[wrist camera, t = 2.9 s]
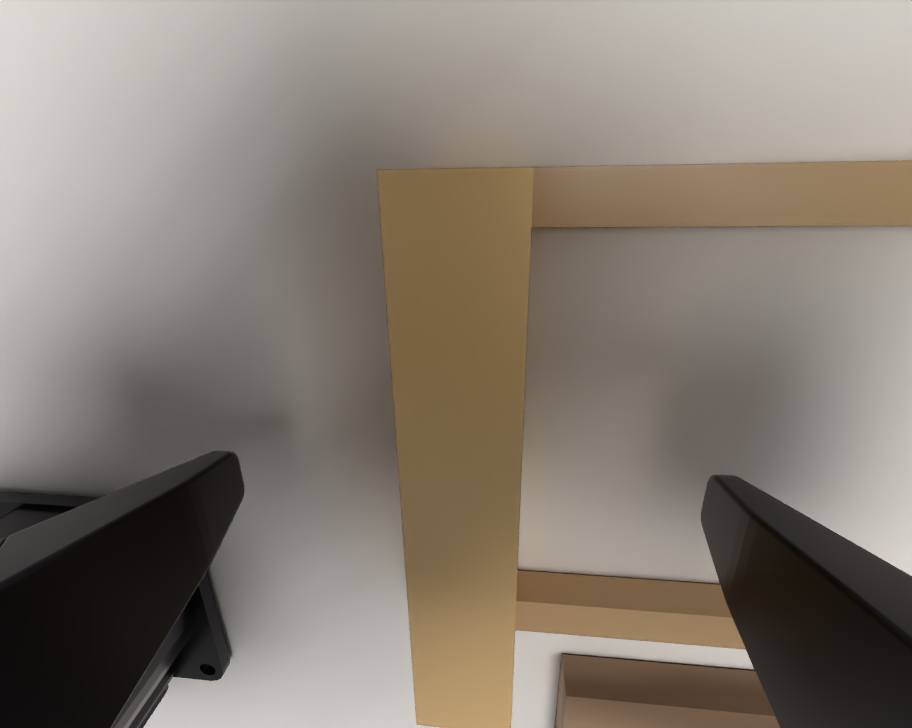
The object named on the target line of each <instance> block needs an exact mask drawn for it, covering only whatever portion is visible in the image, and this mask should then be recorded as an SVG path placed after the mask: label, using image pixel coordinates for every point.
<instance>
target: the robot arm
mask: <svg viewBox="0 0 912 728" xmlns="http://www.w3.org/2000/svg"><path fill="white" fill-rule="evenodd" d="M243 496H244V482H243V478H242V473H241V468H240V463H239V459H238V456H237V455H236V454H235V453H234V452H229V451H213V452H210V453H208V454H205V455H203V456H200V457H198V458H196V459H193V460H191V461H188V462H186V463H184V464H181V465H179V466H176V467H174V468H171V469H169V470H167V471H164V472H162V473H159V474H157V475H154V476H152V477H150V478H147V479H145V480H142V481H140V482H137V483H135V484H133V485H130V486H128V487H125V488H123V489H121V490H118V491H116V492H113V493H111V494H108V495H106V496H104V497H101V498H93V497H77V496H60V495H43V494H27V493H10V492H0V728H143V727H144V725H145V724H146V722H147V721H148V719H149V718H150V716H151V715H152V713H153V712H154V710H155V709H156V707H157V706H158V704H159V703H160V701H161V700H162V698H163V696H164V695H165V693H166V692H167V690H168V683H169V682H170V680H171V679H172V677H181V678H191V679H201V680H210V681H212V680H218V679H221V677H222V676H223V674H224V672H225V671H226V669H227V667H228V665H229V664H230V658H229V654H228V650H227V646H226V643H225V639H224V635H223V632H222V628H221V624H220V621H219V617H218V613H217V610H216V606H215V602H214V599H213V595H212V591H211V588H210V584H209V580H208V577H207V573H206V572H207V570H208V568H209V566H210V564H211V563H212V561H213V559H214V557H215V555H216V553H217V551H218V549H219V547H220V545H221V543H222V540H223V538H224V536H225V534H226V532H227V530H228V528H229V526H230V524H231V522H232V520H233V518H234V516H235V514H236V511H237V509H238V507H239V505H240V503H241V501H242V499H243ZM701 522H702V527H703V530H704V533H705V537H706V540H707V543H708V546H709V550H710V553H711V556H712V559H713V563H714V566H715V569H716V572H717V576H718V579H719V582H720V585H721V589H722V592H723V595H724V598H725V601H726V604H727V606H728V609H729V611H730V614H731V616H732V618H733V621H734V623H735V625H736V628H737V630H738V632H739V635H740V637H741V639H742V642H743V644H744V646H745V648H746V651H747V653H748V655H749V658H750V660H751V662H752V665H753V667H754V669H755V671H756V674H757V676H758V678H759V681H760V683H761V685H762V688H763V690H764V692H765V694H766V697H767V699H768V701H769V704H770V706H771V708H772V711H773V713H774V715H775V718H776V720H777V722H778V724H779V727H780V728H912V576H910V575H909V574H907V573H905V572H903V571H902V570H900V569H898V568H896V567H895V566H893V565H891V564H889V563H888V562H886V561H884V560H882V559H881V558H879V557H877V556H875V555H874V554H872V553H870V552H868V551H867V550H865V549H863V548H861V547H860V546H858V545H856V544H854V543H853V542H851V541H849V540H847V539H846V538H844V537H842V536H840V535H839V534H837V533H835V532H833V531H832V530H830V529H828V528H826V527H825V526H823V525H821V524H819V523H818V522H816V521H814V520H812V519H811V518H809V517H807V516H805V515H804V514H802V513H800V512H798V511H797V510H795V509H793V508H791V507H790V506H788V505H786V504H784V503H783V502H781V501H779V500H777V499H776V498H774V497H772V496H770V495H769V494H767V493H765V492H763V491H762V490H760V489H758V488H756V487H755V486H753V485H751V484H749V483H748V482H746V481H744V480H742V479H741V478H739V477H737V476H733V475H712V476H711V477H710V478H709V480H708V483H707V487H706V492H705V496H704V501H703V506H702V511H701Z"/></svg>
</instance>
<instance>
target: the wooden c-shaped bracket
mask: <svg viewBox="0 0 912 728" xmlns="http://www.w3.org/2000/svg"><path fill="white" fill-rule="evenodd" d="M377 179H378V193H379V207H380V221H381V235H382V249H383V263H384V277H385V291H386V305H387V319H388V333H389V347H390V361H391V375H392V389H393V403H394V417H395V431H396V445H397V459H398V473H399V487H400V501H401V515H402V529H403V543H404V556H405V570H406V584H407V598H408V612H409V626H410V640H411V654H412V668H413V682H414V696H415V710H416V724H417V725H424V726H433V727H443V728H511V717H512V692H513V668H514V643H515V630H520V631H532V632H544V633H556V634H568V635H580V636H592V637H604V638H616V639H628V640H640V641H652V642H664V643H676V644H688V645H700V646H712V647H724V648H736V649H746V648H745V646H744V644H743V642H742V639H741V637H740V635H739V632H738V630H737V628H736V625H735V623H734V621H733V618H732V616H731V614H730V611H729V609H728V606H727V604H726V601H725V598H724V595H723V592H722V589H721V585H718V584H704V583H690V582H675V581H661V580H647V579H633V578H619V577H605V576H590V575H576V574H562V573H548V572H534V571H519V570H517V569H518V545H519V520H520V496H521V471H522V447H523V422H524V398H525V373H526V349H527V324H528V300H529V275H530V250H531V227H713V226H912V161H857V162H800V163H742V164H685V165H627V166H570V167H501V168H444V169H387V170H377Z"/></svg>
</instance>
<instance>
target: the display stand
mask: <svg viewBox="0 0 912 728" xmlns="http://www.w3.org/2000/svg"><path fill="white" fill-rule="evenodd" d="M555 728H780V727H779V724H778V722H777V720H776V718H775V715H774V713H773V711H772V708H771V706H770V704H769V701H768V699H767V697H766V694H765V692H764V690H763V688H762V685H761V683H760V681H759V678H758V676H757V674H756V671H748V670H737V669H725V668H714V667H702V666H691V665H680V664H668V663H657V662H645V661H634V660H623V659H611V658H600V657H588V656H577V655H566V654H562V659H561V669H560V680H559V691H558V702H557V712H556V723H555Z"/></svg>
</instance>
